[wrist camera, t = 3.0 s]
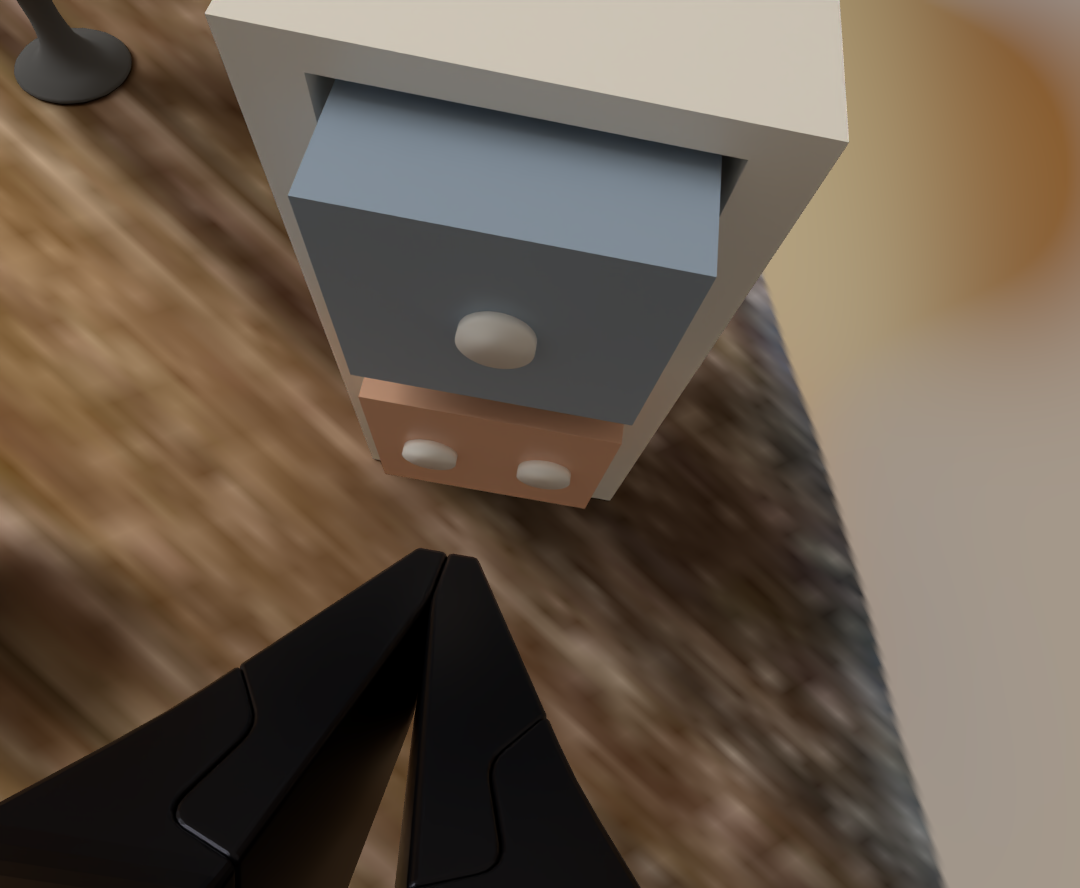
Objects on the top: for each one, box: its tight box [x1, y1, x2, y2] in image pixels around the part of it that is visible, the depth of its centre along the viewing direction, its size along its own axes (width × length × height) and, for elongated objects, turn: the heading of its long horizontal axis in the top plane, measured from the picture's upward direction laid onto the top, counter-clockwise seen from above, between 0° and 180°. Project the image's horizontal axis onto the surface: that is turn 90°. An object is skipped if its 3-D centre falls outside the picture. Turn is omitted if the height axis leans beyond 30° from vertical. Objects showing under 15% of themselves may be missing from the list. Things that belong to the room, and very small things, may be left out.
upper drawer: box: [288, 79, 722, 425], centre depth 11 cm, size 3×6×5 cm, turn 82°
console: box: [205, 0, 849, 501], centre depth 18 cm, size 6×9×16 cm
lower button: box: [358, 377, 624, 509], centre depth 17 cm, size 3×6×5 cm, turn 82°
